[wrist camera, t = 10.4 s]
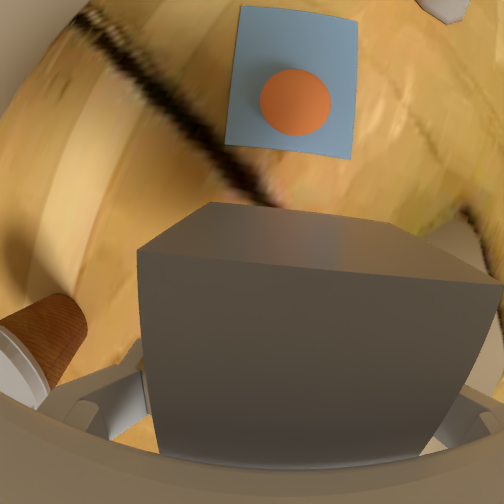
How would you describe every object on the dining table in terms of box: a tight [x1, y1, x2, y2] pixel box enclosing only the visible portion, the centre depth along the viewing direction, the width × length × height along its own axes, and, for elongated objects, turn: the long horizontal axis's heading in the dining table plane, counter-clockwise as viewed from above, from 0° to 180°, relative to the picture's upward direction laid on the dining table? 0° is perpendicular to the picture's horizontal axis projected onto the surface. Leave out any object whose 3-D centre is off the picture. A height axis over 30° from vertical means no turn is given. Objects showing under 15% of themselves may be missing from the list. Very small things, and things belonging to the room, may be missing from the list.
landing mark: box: [225, 6, 358, 160], centre depth 20 cm, size 13×10×1 cm
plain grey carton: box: [137, 202, 504, 469], centre depth 9 cm, size 10×7×7 cm
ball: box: [260, 69, 331, 136], centre depth 19 cm, size 5×5×5 cm
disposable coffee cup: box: [0, 294, 88, 410], centre depth 22 cm, size 10×10×12 cm
